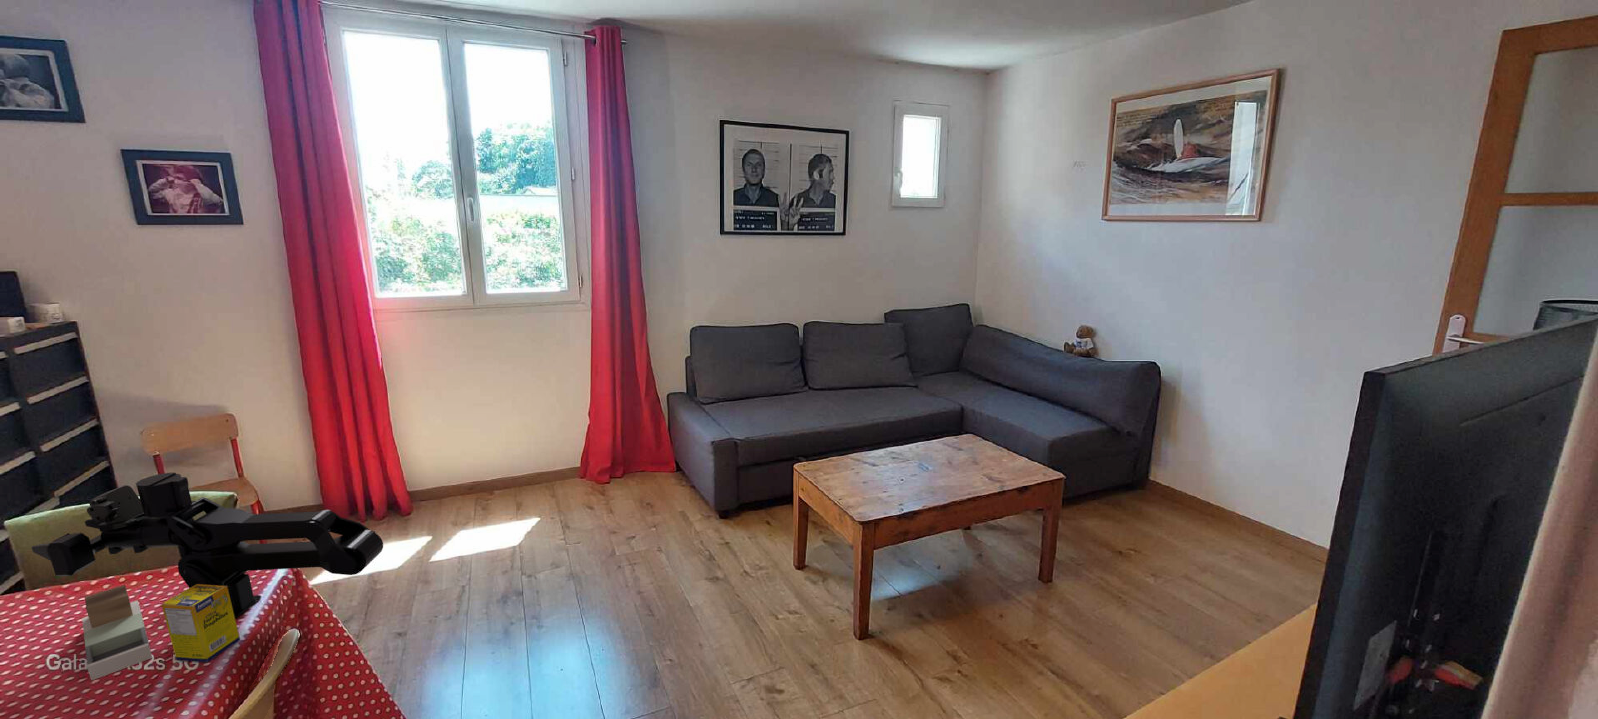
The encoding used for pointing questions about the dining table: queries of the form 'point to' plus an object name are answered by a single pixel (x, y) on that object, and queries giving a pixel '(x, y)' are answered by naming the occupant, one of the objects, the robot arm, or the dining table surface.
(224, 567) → the robot arm
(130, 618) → the pad
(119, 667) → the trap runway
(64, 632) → the dining table surface
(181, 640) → the supplement box
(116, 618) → the walnut block
